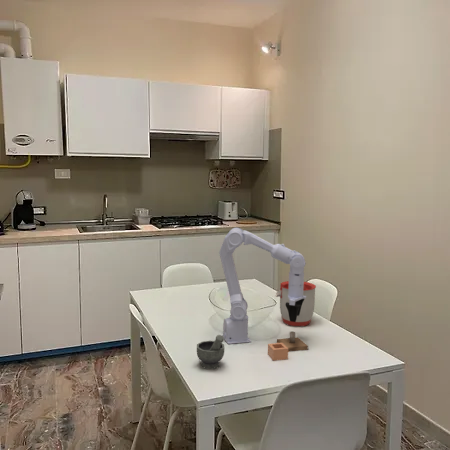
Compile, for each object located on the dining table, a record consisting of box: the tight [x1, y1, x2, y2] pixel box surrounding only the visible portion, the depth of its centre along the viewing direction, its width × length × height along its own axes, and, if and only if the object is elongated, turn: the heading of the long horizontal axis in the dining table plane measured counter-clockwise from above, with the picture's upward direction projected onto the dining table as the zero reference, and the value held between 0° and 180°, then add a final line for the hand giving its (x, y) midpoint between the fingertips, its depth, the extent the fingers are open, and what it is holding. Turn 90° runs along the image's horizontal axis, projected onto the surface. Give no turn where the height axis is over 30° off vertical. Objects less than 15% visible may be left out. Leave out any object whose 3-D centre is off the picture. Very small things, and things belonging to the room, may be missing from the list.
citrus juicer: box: [275, 280, 317, 327], centre depth 201 cm, size 16×17×20 cm
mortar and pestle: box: [196, 334, 225, 370], centre depth 156 cm, size 11×9×12 cm
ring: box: [267, 342, 289, 361], centre depth 165 cm, size 6×6×4 cm
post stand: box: [276, 331, 309, 353], centre depth 175 cm, size 9×9×6 cm
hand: (294, 318), depth 178 cm, fingers open, 7 cm apart
